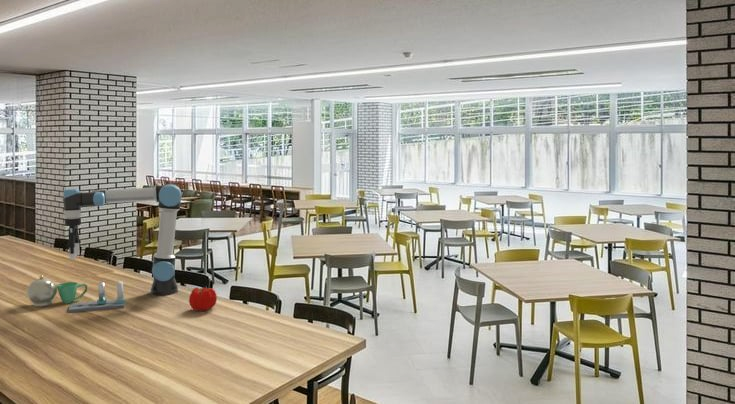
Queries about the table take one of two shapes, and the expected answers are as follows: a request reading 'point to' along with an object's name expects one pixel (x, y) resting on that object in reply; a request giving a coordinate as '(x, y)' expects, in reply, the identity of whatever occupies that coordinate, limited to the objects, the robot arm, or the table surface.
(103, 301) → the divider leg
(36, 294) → the teapot
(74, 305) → the grey and teal piece
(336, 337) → the table surface
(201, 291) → the tomato
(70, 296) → the mug
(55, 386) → the table surface
